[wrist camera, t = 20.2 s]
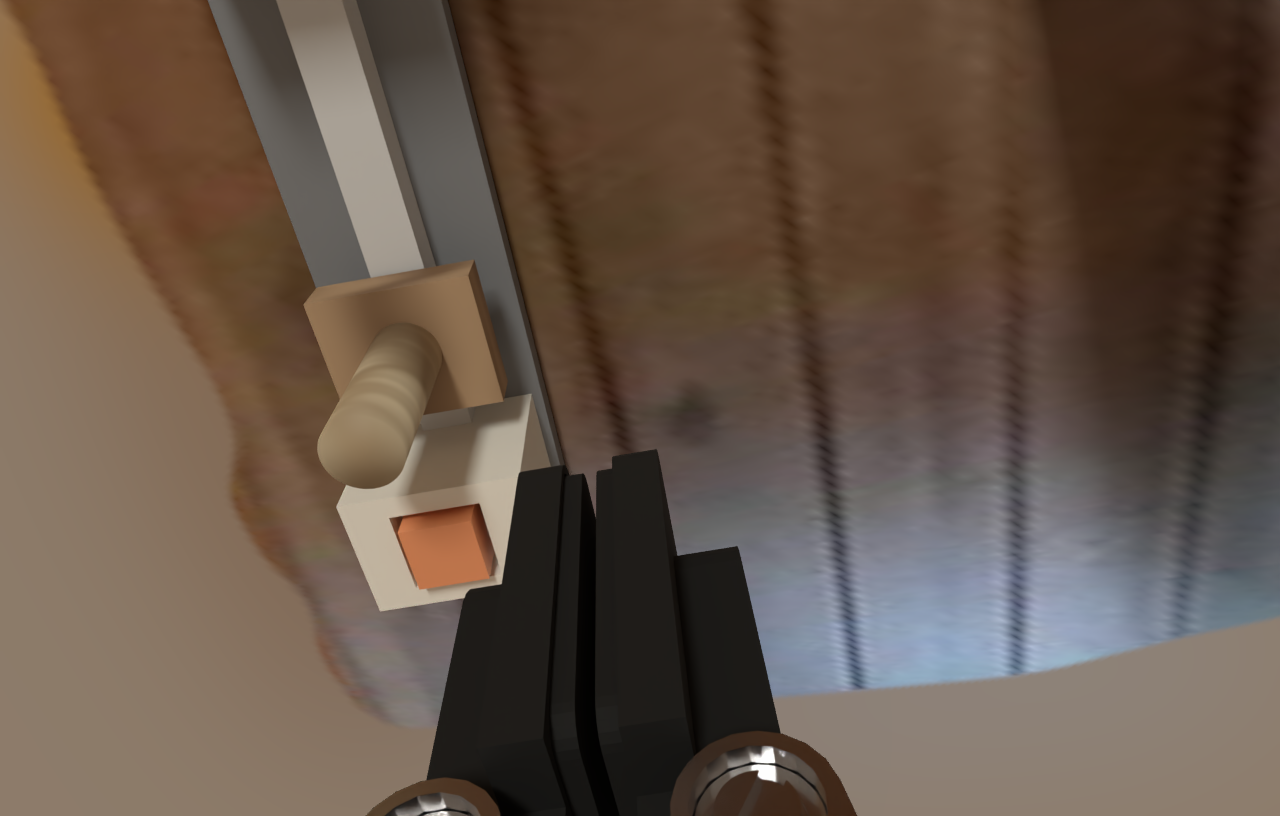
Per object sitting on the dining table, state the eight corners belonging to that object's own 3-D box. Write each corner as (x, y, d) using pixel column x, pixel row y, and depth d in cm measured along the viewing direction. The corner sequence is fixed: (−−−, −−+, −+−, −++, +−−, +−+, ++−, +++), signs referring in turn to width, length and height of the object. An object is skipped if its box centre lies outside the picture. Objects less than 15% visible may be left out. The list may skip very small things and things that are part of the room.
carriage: (474, 259, 37) (435, 359, 28) (507, 380, 40) (482, 506, 31) (317, 287, 37) (230, 395, 28) (362, 405, 40) (295, 537, 31)
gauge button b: (480, 475, 39) (470, 521, 36) (497, 530, 41) (489, 578, 38) (413, 486, 39) (397, 533, 36) (432, 541, 41) (419, 589, 38)
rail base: (355, -364, 30) (267, -473, 22) (569, 481, 47) (563, 590, 39) (108, -312, 30) (-66, -401, 22) (410, 507, 47) (373, 620, 40)
